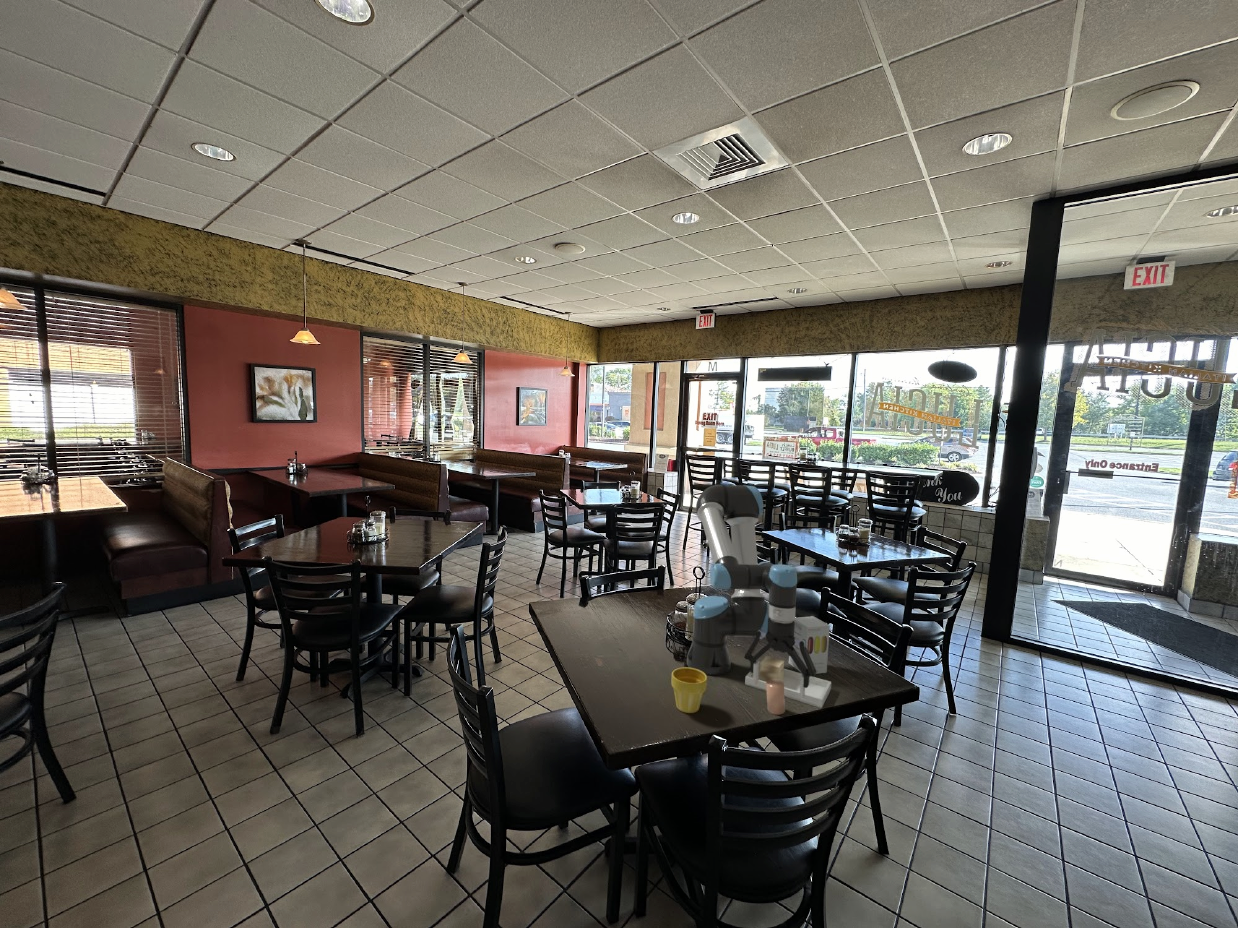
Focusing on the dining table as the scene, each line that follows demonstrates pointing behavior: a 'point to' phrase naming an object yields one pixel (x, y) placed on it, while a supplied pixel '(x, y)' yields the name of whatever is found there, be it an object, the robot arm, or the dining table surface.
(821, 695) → the tray
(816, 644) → the supplement box
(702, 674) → the plant pot
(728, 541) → the robot arm
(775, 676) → the maple cube
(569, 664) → the dining table surface
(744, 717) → the dining table surface
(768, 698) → the terracotta cylinder
